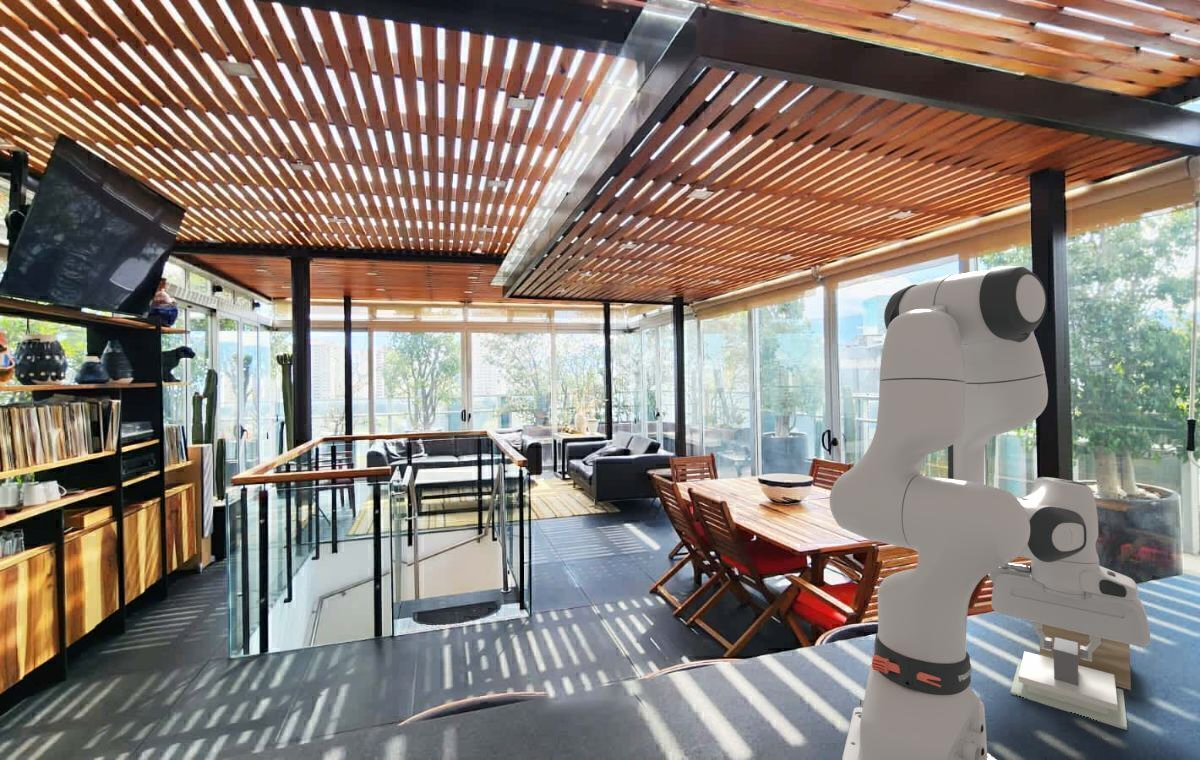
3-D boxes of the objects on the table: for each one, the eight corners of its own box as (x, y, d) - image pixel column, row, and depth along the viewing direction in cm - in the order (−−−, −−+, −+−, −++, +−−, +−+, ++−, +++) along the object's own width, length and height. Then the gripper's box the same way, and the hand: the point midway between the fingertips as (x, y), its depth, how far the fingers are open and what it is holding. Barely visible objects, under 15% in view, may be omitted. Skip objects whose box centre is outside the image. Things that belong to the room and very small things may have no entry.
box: (1130, 691, 90) (1129, 644, 90) (1040, 666, 98) (1039, 623, 98) (1127, 664, 99) (1126, 622, 99) (1044, 644, 107) (1043, 604, 107)
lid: (1117, 721, 81) (1116, 672, 81) (1018, 691, 89) (1018, 646, 89) (1114, 689, 89) (1113, 645, 90) (1024, 664, 98) (1023, 624, 98)
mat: (1127, 730, 79) (1127, 727, 79) (1010, 693, 89) (1010, 691, 89) (1123, 692, 89) (1123, 689, 89) (1018, 663, 99) (1018, 661, 99)
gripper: (986, 563, 94) (988, 640, 94) (1150, 592, 80) (1152, 683, 80) (991, 555, 99) (992, 629, 99) (1147, 582, 85) (1149, 668, 85)
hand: (1065, 653), depth 89 cm, fingers open, 4 cm apart
